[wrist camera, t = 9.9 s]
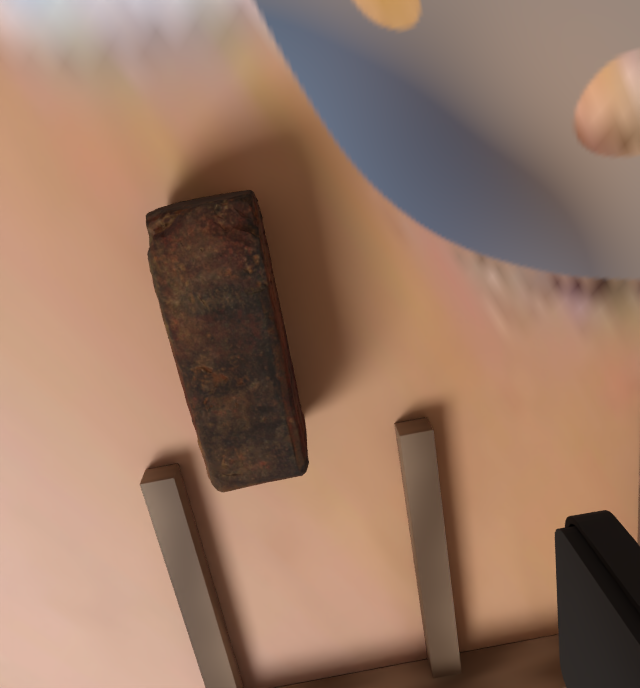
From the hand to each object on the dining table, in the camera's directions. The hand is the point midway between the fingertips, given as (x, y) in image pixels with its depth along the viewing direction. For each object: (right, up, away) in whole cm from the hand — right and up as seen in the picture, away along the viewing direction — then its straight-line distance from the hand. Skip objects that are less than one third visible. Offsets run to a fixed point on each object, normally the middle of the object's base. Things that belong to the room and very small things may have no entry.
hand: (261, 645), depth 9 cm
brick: (-3, +6, +16) cm, 17 cm away
